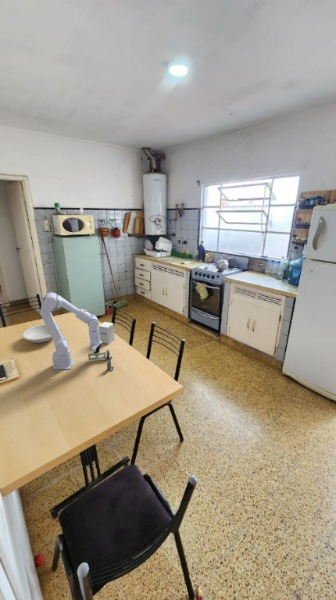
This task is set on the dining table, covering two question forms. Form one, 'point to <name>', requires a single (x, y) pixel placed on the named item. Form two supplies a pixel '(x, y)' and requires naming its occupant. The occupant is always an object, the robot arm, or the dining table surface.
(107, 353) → the hinge post
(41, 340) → the soup bowl
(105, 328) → the supplement box
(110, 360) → the post
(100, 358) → the gate
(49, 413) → the dining table surface
